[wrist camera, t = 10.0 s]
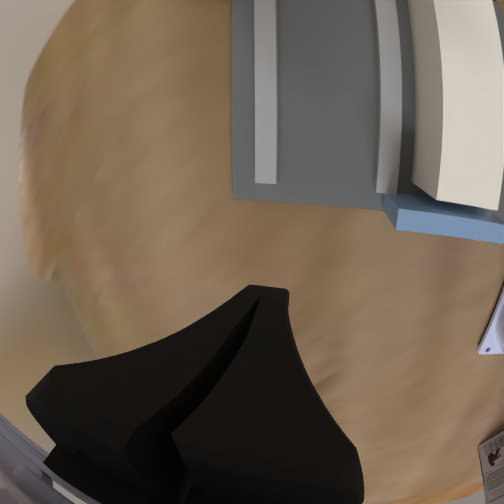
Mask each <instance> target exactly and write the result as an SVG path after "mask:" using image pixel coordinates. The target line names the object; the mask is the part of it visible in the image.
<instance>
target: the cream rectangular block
mask: <svg viewBox="0 0 504 504" xmlns="http://www.w3.org/2000/svg"><path fill="white" fill-rule="evenodd" d="M407 2H408V8H409V15H410V23H411V32H412V42H413V54H414V71H415V137H414V155H413V168H412V179H411V182H412V183H413V184H415V185H416V186H418V187H419V188H421V189H422V190H423V191H425V192H426V193H427V194H429V195H430V196H432V197H433V198H434V199H436V200H439V201H446V202H452V203H458V204H464V205H470V206H475V207H481V208H486V209H491V210H497V211H498V205H499V199H500V193H501V186H502V178H503V169H504V63H503V54H502V47H501V41H500V35H499V29H498V24H497V19H496V14H495V10H494V6H493V2H492V0H407Z"/></svg>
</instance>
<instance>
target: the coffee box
mask: <svg viewBox="0 0 504 504" xmlns="http://www.w3.org/2000/svg"><path fill="white" fill-rule="evenodd" d="M477 449H478V454H479V459H480V465H481V471H482V477H483V485H484V493H485V502H486V504H504V431H502V432H501V433H499V434H497V435H496V436H494V437H492V438H491V439H489V440H487V441H485V442H484V443H482V444H480V445H478V446H477Z"/></svg>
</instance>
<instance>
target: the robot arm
mask: <svg viewBox="0 0 504 504" xmlns="http://www.w3.org/2000/svg"><path fill="white" fill-rule="evenodd" d="M288 305H289V291H288V290H287V289H283V288H275V287H266V286H258V285H248V286H247V287H245V288H244V289H243V290H241V291H240V292H239V293H237V294H236V295H235V296H233V297H232V298H231V299H229V300H228V301H227V302H225V303H224V304H222V305H221V306H220V307H218V308H217V309H215V310H214V311H212V312H211V313H209V314H207V315H206V316H204V317H203V318H201V319H199V320H198V321H196V322H194V323H193V324H191V325H190V326H188V327H186V328H184V329H182V330H180V331H178V332H176V333H174V334H172V335H170V336H168V337H166V338H164V339H161V340H159V341H156V342H154V343H151V344H148V345H146V346H143V347H140V348H137V349H135V350H132V351H129V352H126V353H122V354H118V355H115V356H111V357H107V358H103V359H98V360H93V361H88V362H81V363H74V364H67V365H58V366H54V367H53V368H52V369H51V370H50V371H49V372H48V373H47V374H46V375H45V376H44V377H43V379H42V380H41V381H40V382H39V383H38V384H37V385H36V386H35V387H34V388H33V389H32V390H31V391H30V392H29V393H28V394H27V395H26V396H25V397H26V405H27V407H28V409H29V411H30V412H31V414H32V415H33V416H34V418H35V419H36V420H37V422H38V423H39V424H40V426H41V427H42V428H43V429H44V431H45V432H46V433H47V434H48V435H49V437H50V438H51V439H52V440H53V441H54V442H55V444H56V446H55V447H54V449H53V450H52V451H51V452H50V454H49V453H47V452H46V451H45V450H43V449H42V448H41V447H39V446H38V445H37V444H36V443H34V442H33V441H32V440H31V439H29V438H28V437H27V436H26V435H25V434H23V433H22V432H21V431H20V430H19V429H18V428H16V427H15V426H14V425H13V424H12V423H11V422H10V421H9V420H7V419H6V418H5V417H4V416H3V415H2V414H1V413H0V504H74V503H73V502H71V501H70V500H69V499H67V498H66V497H65V496H63V495H62V494H61V493H59V492H58V491H57V490H55V489H54V488H53V482H52V480H53V481H55V482H56V483H57V484H59V485H60V486H61V487H63V488H64V489H66V490H67V491H69V492H70V493H72V494H73V495H75V496H76V497H78V498H79V499H81V500H82V501H84V502H85V503H87V504H362V503H363V501H364V481H363V473H362V468H361V464H360V460H359V456H358V452H357V449H356V447H355V446H354V445H353V443H352V442H351V441H350V440H349V439H348V437H347V436H346V435H345V434H344V432H343V431H342V430H341V428H340V427H339V426H338V424H337V423H336V422H335V420H334V419H333V417H332V416H331V414H330V413H329V411H328V410H327V408H326V407H325V405H324V403H323V402H322V400H321V398H320V396H319V395H318V393H317V391H316V389H315V388H314V386H313V384H312V382H311V380H310V378H309V376H308V374H307V372H306V370H305V367H304V365H303V363H302V360H301V358H300V355H299V352H298V350H297V347H296V343H295V340H294V337H293V333H292V329H291V325H290V320H289V314H288ZM478 352H479V354H501V353H503V354H504V287H503V290H502V292H501V295H500V298H499V301H498V303H497V306H496V308H495V311H494V313H493V316H492V318H491V320H490V323H489V325H488V327H487V330H486V332H485V334H484V336H483V338H482V340H481V342H480V345H479V347H478ZM51 479H52V480H51Z"/></svg>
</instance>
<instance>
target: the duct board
mask: <svg viewBox="0 0 504 504" xmlns="http://www.w3.org/2000/svg"><path fill="white" fill-rule="evenodd" d="M492 2H493V6H494V10H495V14H496V19H497V24H498V29H499V35H500V41H501V47H502V54H503V63H504V17H503V12H502V8H501V4H500V3H498V2H496V1H494V0H492ZM231 117H232V182H233V199H245V200H263V201H278V202H293V203H306V204H318V205H330V206H341V207H351V208H361V209H371V210H380V211H385V213H386V214H387V216H388V218H389V219H390V221H391V223H392V224H393V226H394V227H395V229H396V230H404V231H413V232H421V233H429V234H437V235H445V236H452V237H459V238H467V239H474V240H481V241H487V242H494V243H501V244H504V221H503V218H504V169H503V178H502V186H501V193H500V199H499V205H498V211H497V210H491V209H486V208H481V207H475V206H470V205H464V204H458V203H452V202H446V201H439V200H436V199H434V198H433V197H432V196H430V195H429V194H427V193H426V192H425V191H423V190H422V189H421V188H419V187H418V186H416V185H415V184H413V183H412V182H411V179H412V168H413V155H414V137H415V71H414V54H413V42H412V32H411V23H410V15H409V8H408V2H407V0H232V4H231Z"/></svg>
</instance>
